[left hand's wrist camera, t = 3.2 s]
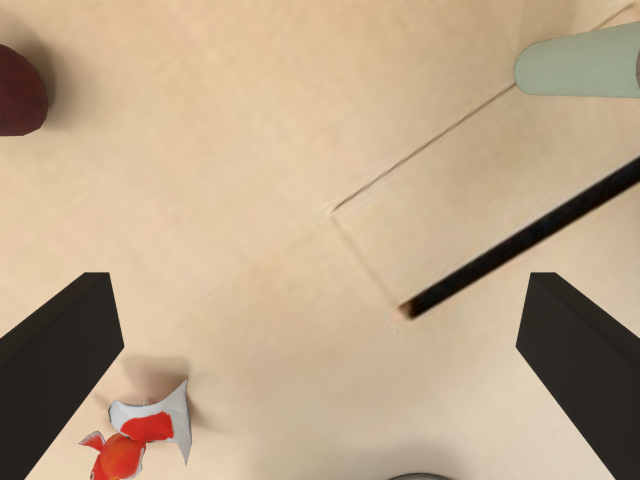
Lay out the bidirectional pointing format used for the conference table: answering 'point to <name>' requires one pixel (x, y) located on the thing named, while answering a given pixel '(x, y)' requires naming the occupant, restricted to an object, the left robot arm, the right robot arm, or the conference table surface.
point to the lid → (638, 69)
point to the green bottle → (583, 64)
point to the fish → (140, 434)
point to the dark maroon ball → (20, 95)
